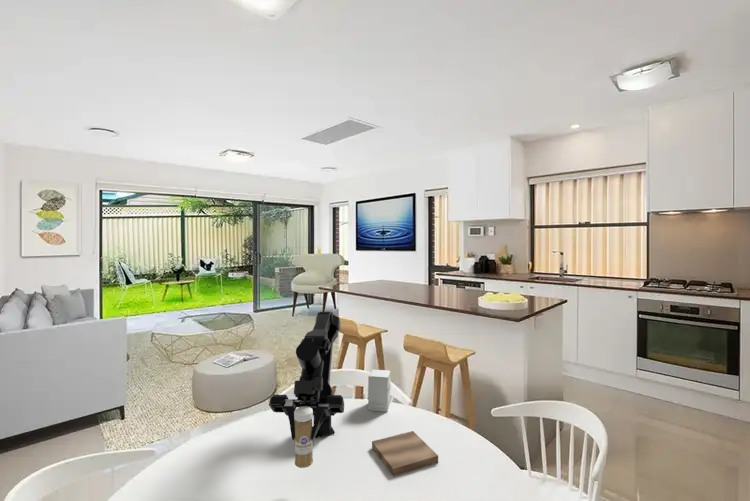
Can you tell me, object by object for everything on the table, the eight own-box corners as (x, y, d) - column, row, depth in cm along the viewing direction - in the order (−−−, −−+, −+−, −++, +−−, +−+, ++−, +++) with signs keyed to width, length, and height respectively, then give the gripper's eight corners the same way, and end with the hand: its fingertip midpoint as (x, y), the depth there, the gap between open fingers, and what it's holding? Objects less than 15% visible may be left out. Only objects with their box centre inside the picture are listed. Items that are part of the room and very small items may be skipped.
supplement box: (387, 412, 129) (387, 377, 128) (367, 410, 130) (367, 376, 130) (391, 403, 136) (391, 370, 136) (371, 401, 138) (371, 368, 137)
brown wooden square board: (372, 447, 107) (372, 441, 107) (413, 437, 113) (413, 430, 112) (393, 476, 94) (393, 468, 94) (438, 462, 100) (438, 455, 100)
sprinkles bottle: (297, 471, 86) (296, 416, 86) (292, 460, 90) (291, 408, 90) (315, 465, 88) (315, 411, 88) (310, 455, 92) (309, 404, 92)
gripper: (270, 364, 92) (255, 429, 82) (342, 364, 92) (337, 430, 81) (279, 381, 101) (267, 442, 90) (346, 382, 100) (341, 443, 90)
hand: (302, 439), depth 88 cm, fingers closed on sprinkles bottle, 4 cm apart
